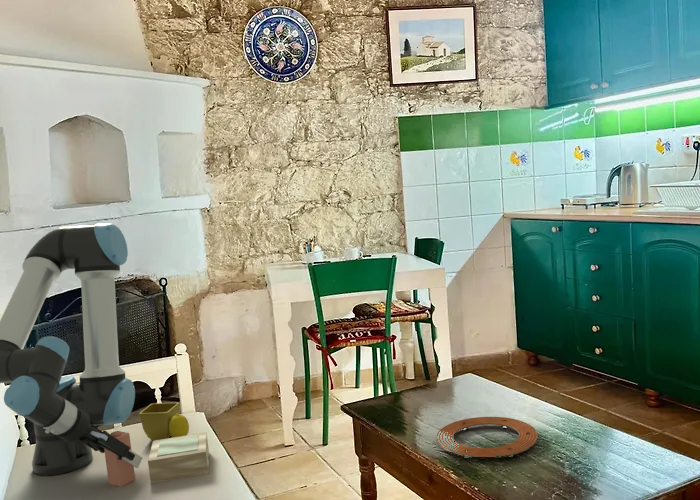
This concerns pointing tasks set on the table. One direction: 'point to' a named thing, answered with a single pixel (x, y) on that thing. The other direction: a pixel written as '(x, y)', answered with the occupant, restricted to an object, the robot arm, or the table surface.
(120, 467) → the pink knobbed block
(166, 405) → the flower pot
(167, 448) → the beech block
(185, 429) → the lemon
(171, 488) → the table surface
